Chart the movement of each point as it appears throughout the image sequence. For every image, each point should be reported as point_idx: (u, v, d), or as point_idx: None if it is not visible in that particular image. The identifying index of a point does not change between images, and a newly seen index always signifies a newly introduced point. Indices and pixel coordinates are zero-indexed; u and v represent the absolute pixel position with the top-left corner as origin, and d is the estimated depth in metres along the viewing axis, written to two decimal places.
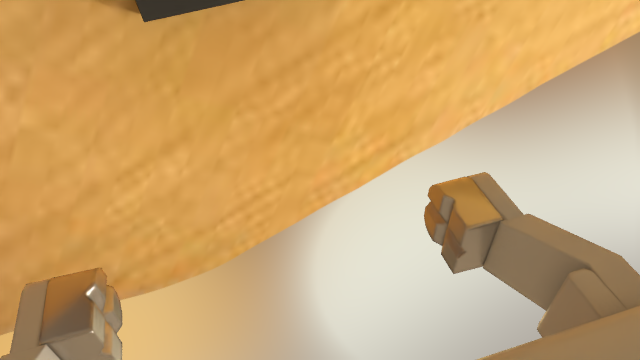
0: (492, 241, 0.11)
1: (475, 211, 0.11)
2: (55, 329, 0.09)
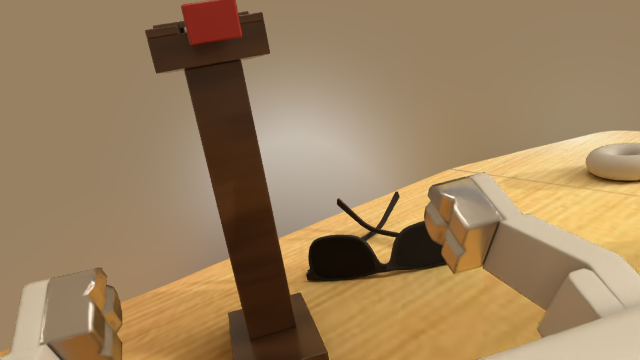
0: (492, 241, 0.11)
1: (475, 211, 0.11)
2: (55, 329, 0.09)
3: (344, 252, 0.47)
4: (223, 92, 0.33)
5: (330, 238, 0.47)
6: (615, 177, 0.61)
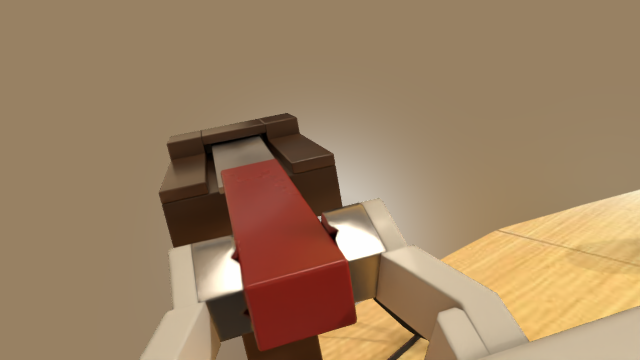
0: (379, 273, 0.10)
1: (358, 242, 0.10)
2: (209, 288, 0.09)
3: None
4: None
5: None
6: None
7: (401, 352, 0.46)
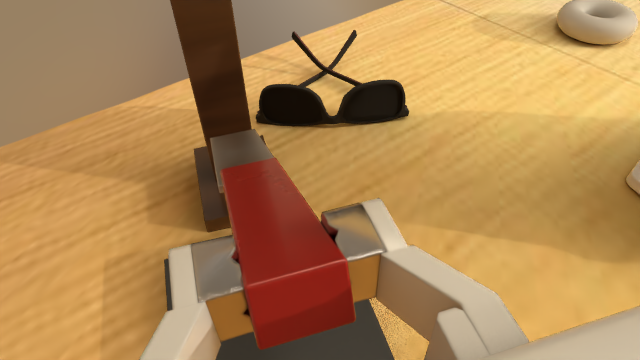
0: (379, 273, 0.10)
1: (358, 242, 0.10)
2: (210, 288, 0.09)
3: (295, 102, 0.49)
4: None
5: (282, 87, 0.48)
6: (578, 38, 0.62)
7: (309, 82, 0.56)
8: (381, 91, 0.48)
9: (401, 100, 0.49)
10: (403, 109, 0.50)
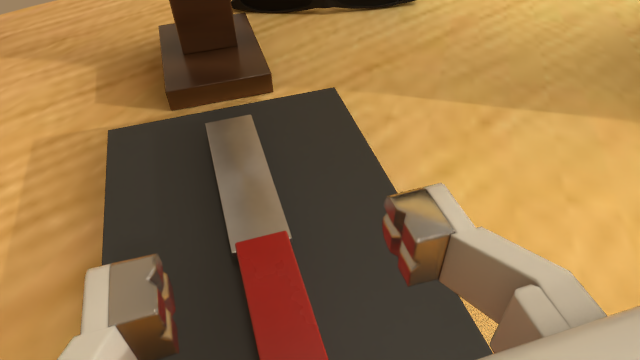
0: (446, 254, 0.11)
1: (426, 224, 0.10)
2: (122, 311, 0.09)
3: None
4: None
5: None
6: None
7: None
8: None
9: None
10: None
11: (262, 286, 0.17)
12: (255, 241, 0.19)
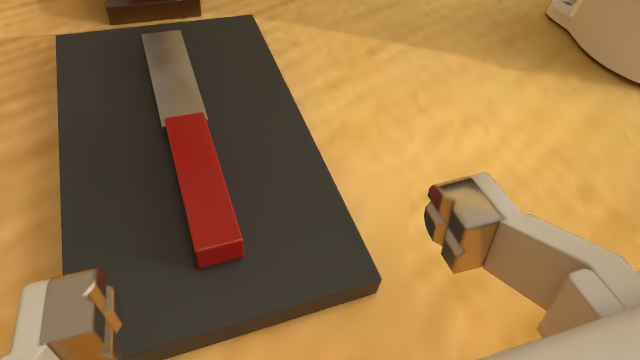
0: (492, 241, 0.11)
1: (475, 211, 0.11)
2: (55, 329, 0.09)
3: None
4: None
5: None
6: None
7: None
8: None
9: None
10: None
11: (183, 145, 0.24)
12: (179, 118, 0.26)
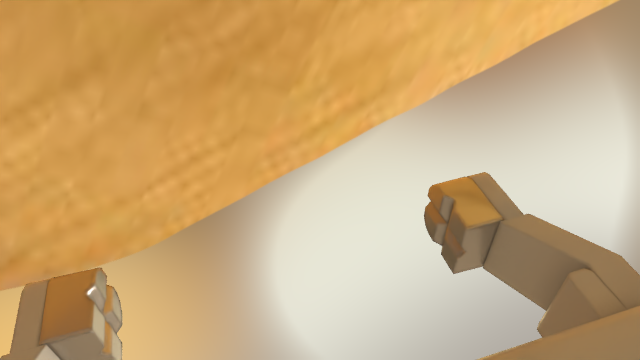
0: (492, 241, 0.11)
1: (475, 211, 0.11)
2: (55, 329, 0.09)
3: None
4: None
5: None
6: None
7: None
8: None
9: None
10: None
11: None
12: None
